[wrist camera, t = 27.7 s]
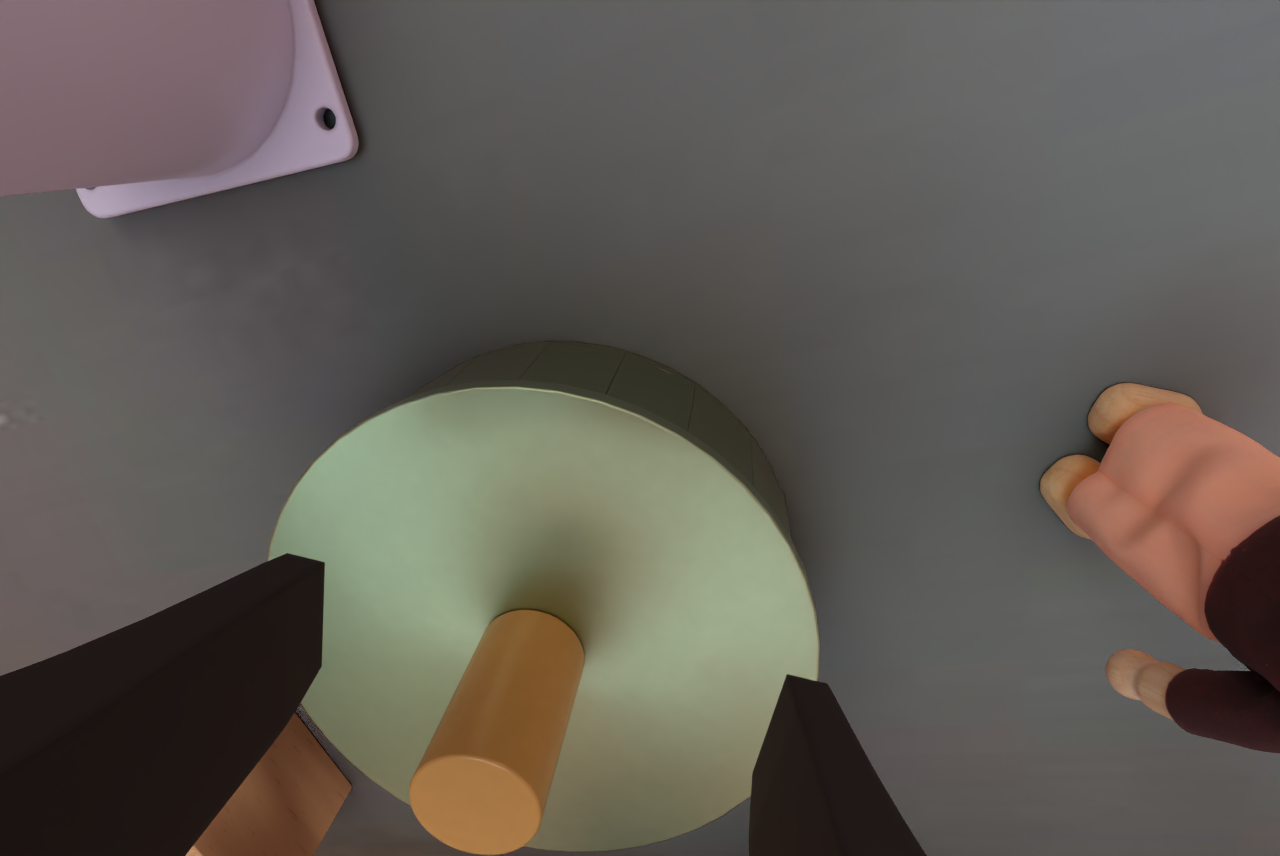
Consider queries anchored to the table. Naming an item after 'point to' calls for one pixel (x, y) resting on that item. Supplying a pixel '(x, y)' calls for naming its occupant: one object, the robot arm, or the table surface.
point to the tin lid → (547, 616)
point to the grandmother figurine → (1186, 552)
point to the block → (279, 802)
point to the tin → (630, 397)
